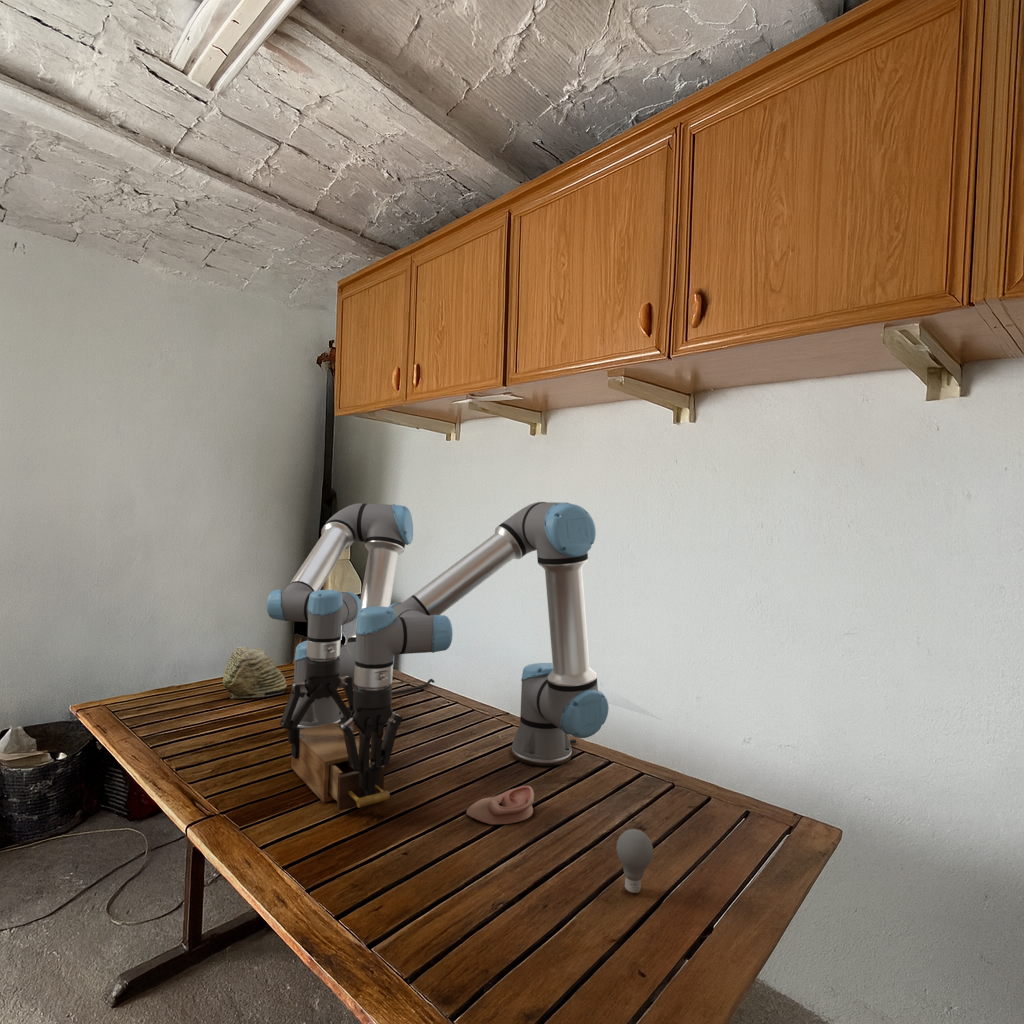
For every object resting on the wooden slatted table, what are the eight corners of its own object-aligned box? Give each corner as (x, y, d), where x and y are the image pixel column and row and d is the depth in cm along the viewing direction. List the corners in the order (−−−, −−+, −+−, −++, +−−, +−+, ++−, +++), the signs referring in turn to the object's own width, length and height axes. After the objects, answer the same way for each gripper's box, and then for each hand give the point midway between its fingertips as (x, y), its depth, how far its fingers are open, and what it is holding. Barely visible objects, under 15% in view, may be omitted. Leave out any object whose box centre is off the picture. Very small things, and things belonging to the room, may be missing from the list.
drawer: (396, 810, 128) (397, 777, 127) (351, 823, 122) (352, 789, 122) (346, 766, 147) (347, 737, 147) (305, 775, 141) (306, 745, 141)
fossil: (218, 695, 195) (220, 647, 195) (278, 685, 208) (279, 640, 207) (228, 703, 189) (230, 653, 188) (289, 692, 201) (290, 645, 201)
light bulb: (610, 879, 108) (613, 822, 108) (644, 879, 109) (647, 822, 109) (619, 902, 102) (622, 840, 102) (655, 901, 103) (658, 840, 103)
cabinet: (372, 789, 138) (373, 750, 138) (323, 802, 131) (325, 761, 131) (335, 757, 154) (337, 722, 154) (291, 767, 147) (292, 730, 147)
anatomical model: (462, 800, 126) (477, 776, 137) (461, 820, 126) (476, 794, 137) (528, 810, 123) (537, 784, 135) (527, 830, 123) (536, 803, 135)
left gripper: (277, 667, 137) (273, 768, 138) (376, 655, 151) (373, 746, 152) (267, 659, 143) (263, 756, 144) (363, 648, 157) (359, 736, 158)
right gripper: (349, 695, 120) (344, 818, 120) (411, 685, 127) (405, 801, 128) (334, 684, 126) (329, 802, 126) (394, 676, 133) (389, 786, 134)
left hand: (319, 751), depth 148 cm, fingers closed on cabinet, 11 cm apart
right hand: (367, 801), depth 127 cm, fingers closed
